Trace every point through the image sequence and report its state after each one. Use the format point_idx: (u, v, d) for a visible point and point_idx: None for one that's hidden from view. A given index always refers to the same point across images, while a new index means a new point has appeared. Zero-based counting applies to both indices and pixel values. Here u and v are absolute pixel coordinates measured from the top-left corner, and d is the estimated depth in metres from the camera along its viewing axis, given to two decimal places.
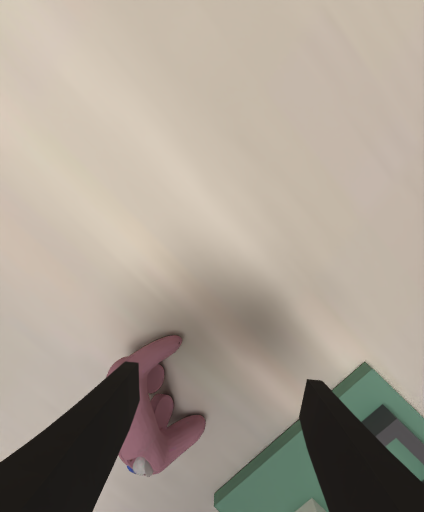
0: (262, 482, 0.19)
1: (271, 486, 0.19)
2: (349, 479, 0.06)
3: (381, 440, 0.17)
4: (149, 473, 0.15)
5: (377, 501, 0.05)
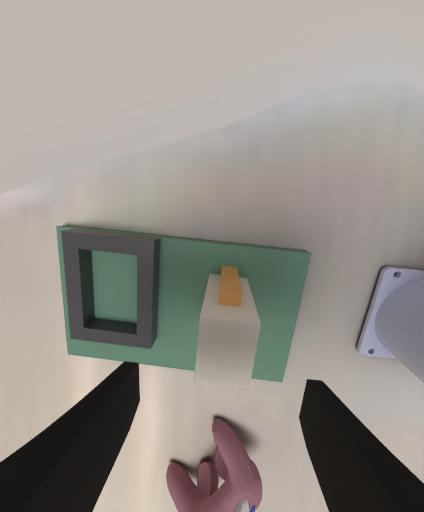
0: None
1: None
2: (349, 479, 0.06)
3: (95, 335, 0.17)
4: (240, 507, 0.17)
5: (377, 501, 0.05)
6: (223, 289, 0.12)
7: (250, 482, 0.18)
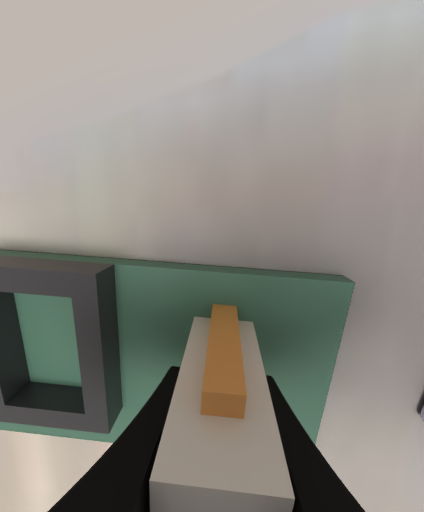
0: None
1: None
2: None
3: (24, 415, 0.11)
4: None
5: None
6: (208, 382, 0.06)
7: None
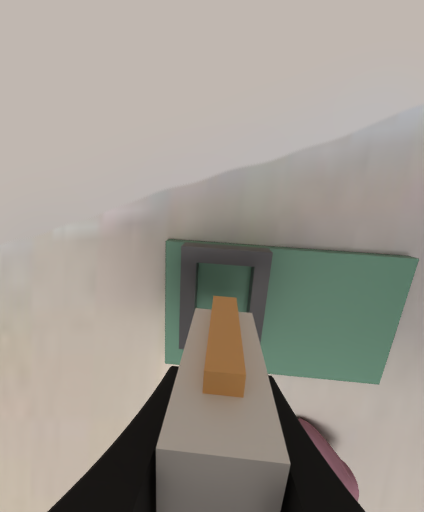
0: (323, 367, 0.19)
1: (322, 359, 0.19)
2: None
3: None
4: None
5: (289, 490, 0.05)
6: (210, 363, 0.06)
7: (347, 480, 0.18)
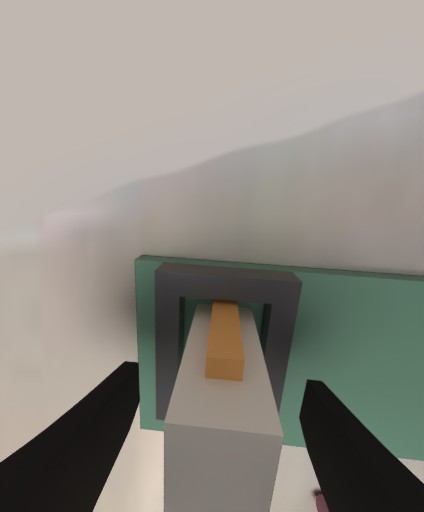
0: None
1: None
2: (349, 479, 0.06)
3: None
4: None
5: (377, 501, 0.05)
6: (212, 350, 0.07)
7: None
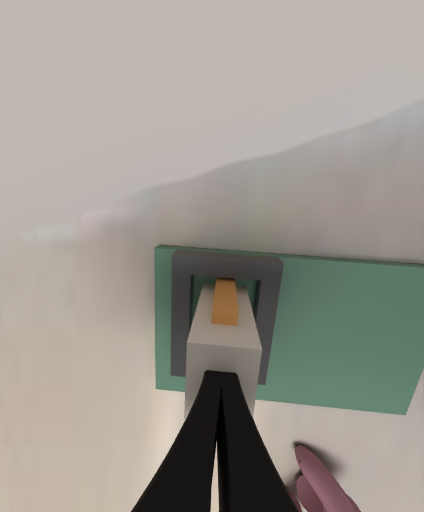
0: (341, 394, 0.16)
1: (339, 386, 0.16)
2: (224, 464, 0.06)
3: None
4: None
5: (228, 483, 0.05)
6: (216, 305, 0.10)
7: None
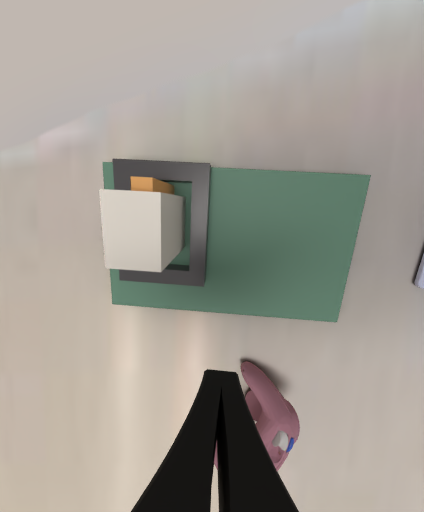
0: (278, 303, 0.18)
1: (275, 294, 0.18)
2: (223, 464, 0.06)
3: (146, 274, 0.16)
4: (279, 438, 0.16)
5: (227, 483, 0.05)
6: (135, 177, 0.11)
7: (286, 415, 0.17)
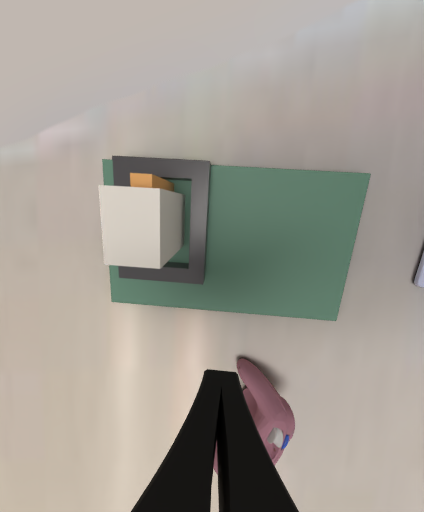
0: (277, 302, 0.18)
1: (274, 293, 0.18)
2: (223, 464, 0.06)
3: (145, 272, 0.16)
4: (273, 435, 0.16)
5: (227, 483, 0.05)
6: None
7: (282, 412, 0.17)
